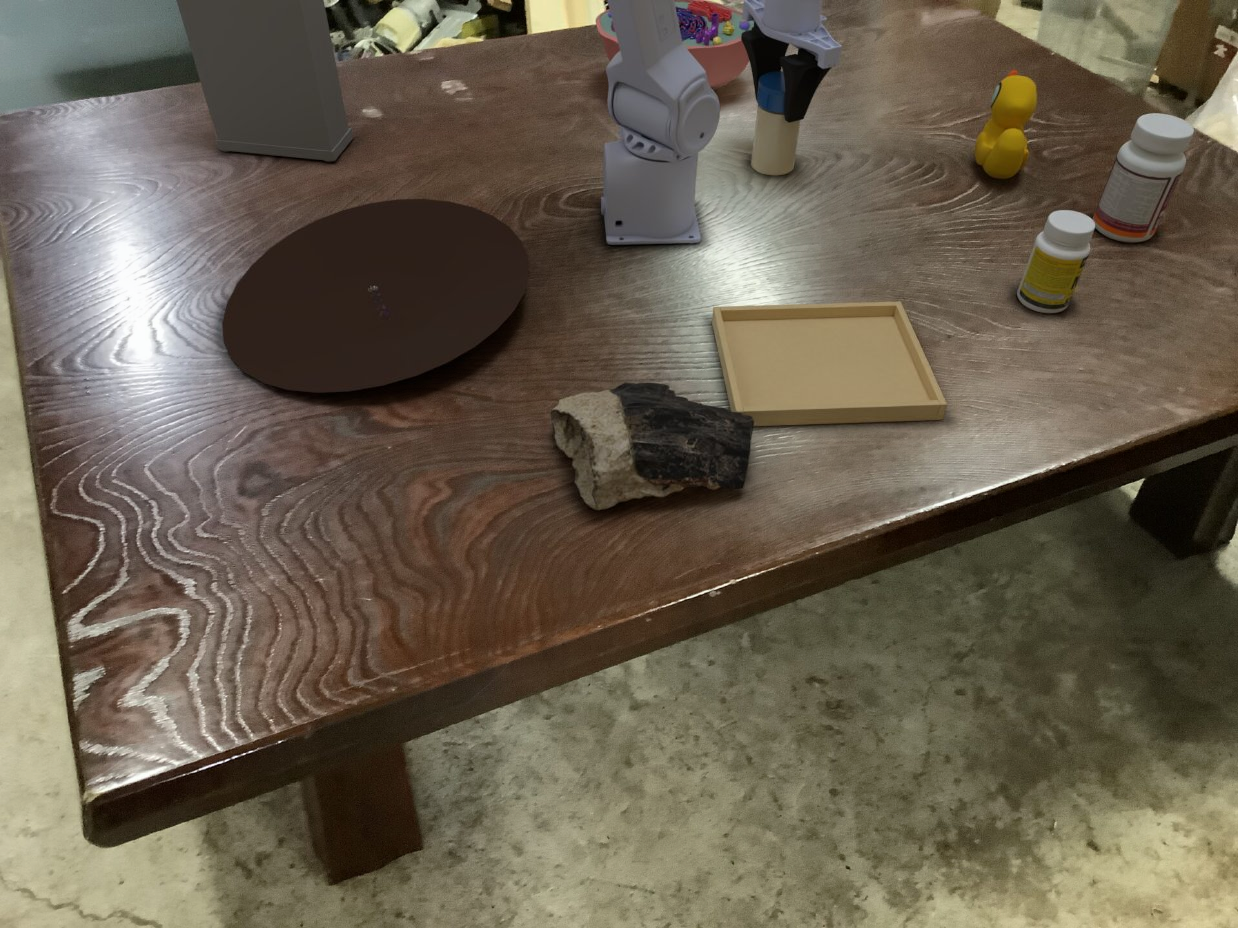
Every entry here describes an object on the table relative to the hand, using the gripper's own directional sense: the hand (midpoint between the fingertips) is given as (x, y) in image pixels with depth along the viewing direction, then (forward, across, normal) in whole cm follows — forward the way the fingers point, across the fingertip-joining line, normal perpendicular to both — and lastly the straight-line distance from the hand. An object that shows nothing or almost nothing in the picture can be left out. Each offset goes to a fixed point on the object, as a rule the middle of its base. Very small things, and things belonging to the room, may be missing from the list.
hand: (779, 109), depth 106 cm
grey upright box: (+6, +29, +47) cm, 56 cm away
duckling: (+7, -12, -22) cm, 26 cm away
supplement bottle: (+7, -33, -8) cm, 35 cm away
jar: (+6, 0, 0) cm, 6 cm away
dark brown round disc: (+6, -6, +48) cm, 48 cm away
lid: (-3, 0, 0) cm, 3 cm away
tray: (+6, -32, +17) cm, 37 cm away
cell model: (+7, +22, 0) cm, 23 cm away
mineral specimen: (+7, -35, +35) cm, 50 cm away
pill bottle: (+7, -28, -25) cm, 38 cm away
